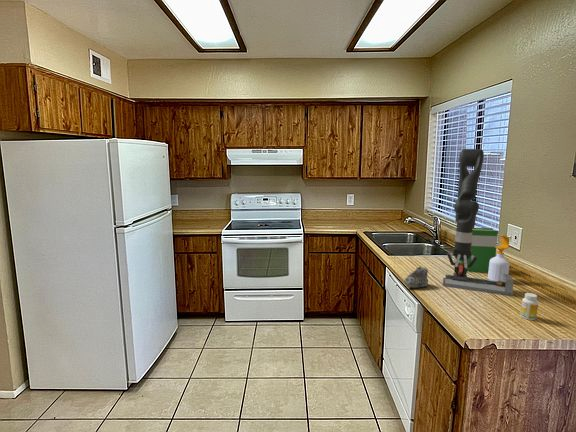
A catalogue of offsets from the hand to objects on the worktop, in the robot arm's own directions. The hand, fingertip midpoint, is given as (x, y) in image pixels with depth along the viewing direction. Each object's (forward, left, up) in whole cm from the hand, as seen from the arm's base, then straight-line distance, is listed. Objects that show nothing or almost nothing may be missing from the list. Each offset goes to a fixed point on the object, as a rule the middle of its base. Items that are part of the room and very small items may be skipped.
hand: (460, 274), depth 174 cm
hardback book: (-32, +9, -6) cm, 34 cm away
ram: (0, 0, -4) cm, 4 cm away
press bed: (0, +8, -6) cm, 10 cm away
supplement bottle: (+28, +25, -6) cm, 38 cm away
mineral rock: (+11, -20, -6) cm, 23 cm away
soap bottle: (-18, +19, -6) cm, 27 cm away
